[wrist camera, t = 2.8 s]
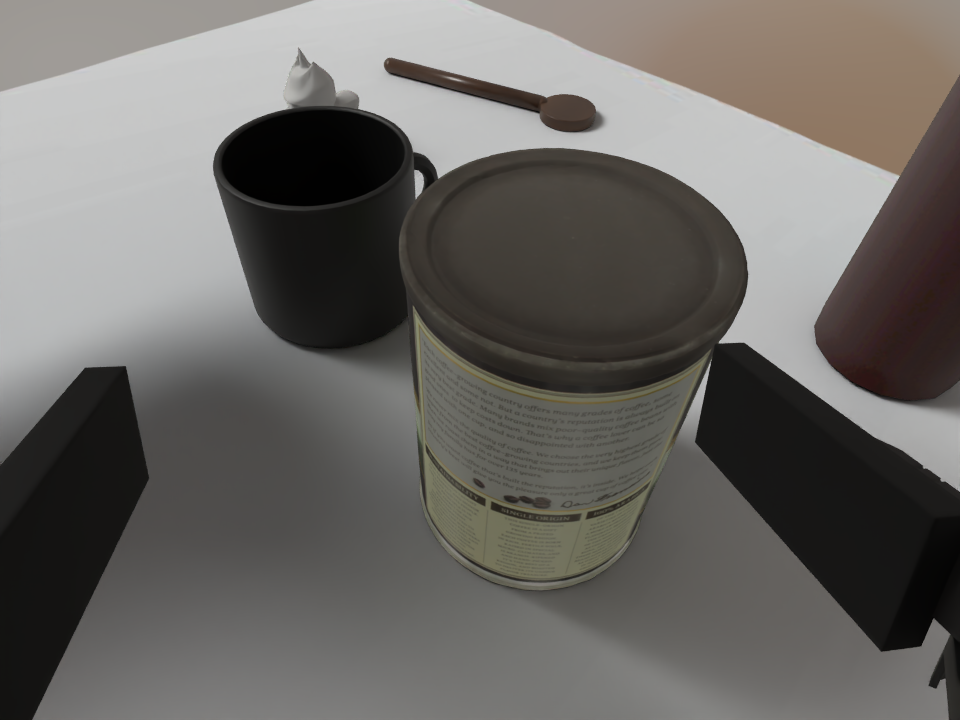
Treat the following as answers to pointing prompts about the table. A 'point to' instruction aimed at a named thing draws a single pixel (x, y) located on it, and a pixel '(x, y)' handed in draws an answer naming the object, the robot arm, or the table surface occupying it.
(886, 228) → the beer bottle
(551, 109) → the wooden spoon
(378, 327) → the mug
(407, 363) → the table surface
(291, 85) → the white toy figurine
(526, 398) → the coffee can
